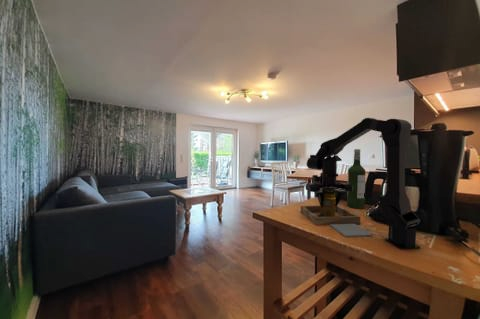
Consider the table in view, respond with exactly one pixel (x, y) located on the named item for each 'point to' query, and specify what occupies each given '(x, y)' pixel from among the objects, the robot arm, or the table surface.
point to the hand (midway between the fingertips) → (328, 206)
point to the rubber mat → (350, 230)
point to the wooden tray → (344, 219)
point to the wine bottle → (356, 183)
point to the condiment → (328, 204)
